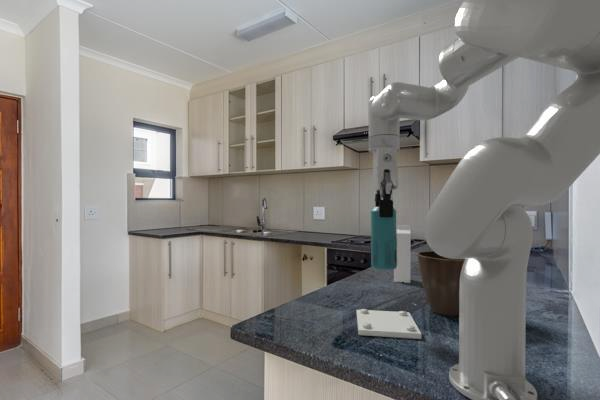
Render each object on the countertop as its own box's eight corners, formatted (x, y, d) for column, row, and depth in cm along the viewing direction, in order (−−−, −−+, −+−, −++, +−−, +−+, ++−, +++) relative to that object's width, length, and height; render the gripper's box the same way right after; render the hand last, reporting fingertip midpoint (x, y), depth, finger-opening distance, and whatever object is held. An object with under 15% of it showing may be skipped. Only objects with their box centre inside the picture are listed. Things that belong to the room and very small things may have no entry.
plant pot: (424, 299, 101) (424, 249, 101) (478, 309, 93) (478, 254, 93) (410, 313, 89) (411, 255, 89) (471, 325, 80) (471, 262, 80)
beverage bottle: (399, 276, 76) (399, 192, 76) (370, 275, 77) (370, 192, 77) (395, 270, 82) (395, 193, 83) (369, 269, 84) (369, 193, 84)
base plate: (421, 338, 72) (421, 331, 72) (358, 335, 74) (358, 327, 74) (409, 316, 86) (409, 310, 86) (356, 313, 88) (356, 307, 88)
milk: (394, 278, 129) (394, 223, 129) (409, 279, 127) (410, 224, 127) (394, 282, 123) (394, 224, 123) (410, 283, 121) (410, 225, 122)
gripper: (406, 137, 71) (406, 218, 71) (393, 150, 88) (393, 215, 88) (372, 138, 72) (372, 218, 72) (365, 150, 89) (365, 215, 89)
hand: (383, 216), depth 80 cm, fingers closed on beverage bottle, 6 cm apart
